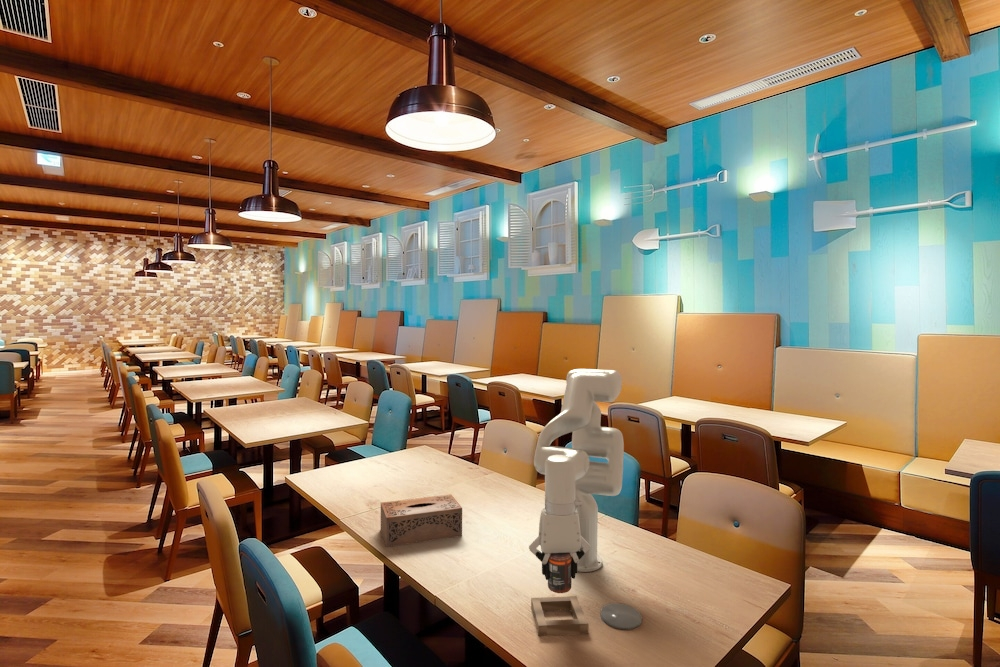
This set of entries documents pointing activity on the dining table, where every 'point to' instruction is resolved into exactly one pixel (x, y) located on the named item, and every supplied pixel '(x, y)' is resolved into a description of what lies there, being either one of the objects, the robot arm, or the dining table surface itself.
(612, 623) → the coaster
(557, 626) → the pocket frame
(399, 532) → the tissue box cover
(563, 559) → the supplement bottle
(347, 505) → the dining table surface
